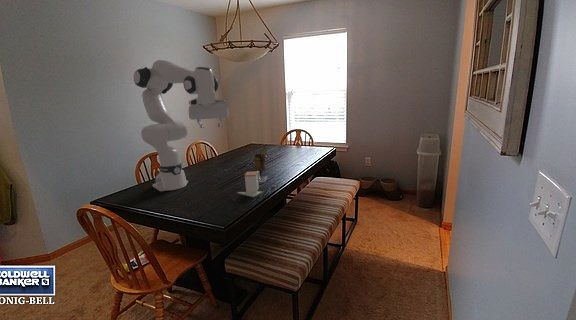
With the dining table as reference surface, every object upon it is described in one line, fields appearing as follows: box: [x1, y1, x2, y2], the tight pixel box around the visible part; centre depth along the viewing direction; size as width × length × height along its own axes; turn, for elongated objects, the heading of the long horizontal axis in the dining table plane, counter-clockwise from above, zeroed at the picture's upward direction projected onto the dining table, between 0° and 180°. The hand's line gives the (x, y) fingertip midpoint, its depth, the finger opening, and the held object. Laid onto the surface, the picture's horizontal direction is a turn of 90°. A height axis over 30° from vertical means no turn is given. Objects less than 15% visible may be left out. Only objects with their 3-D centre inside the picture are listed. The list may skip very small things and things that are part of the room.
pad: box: [236, 190, 267, 198], centre depth 156 cm, size 12×12×1 cm
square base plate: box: [256, 170, 268, 183], centre depth 173 cm, size 11×11×6 cm
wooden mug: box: [252, 146, 268, 172], centre depth 193 cm, size 9×14×18 cm, turn 39°
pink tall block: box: [244, 170, 260, 193], centre depth 155 cm, size 6×6×10 cm
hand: (210, 127), depth 146 cm, fingers open, 8 cm apart
